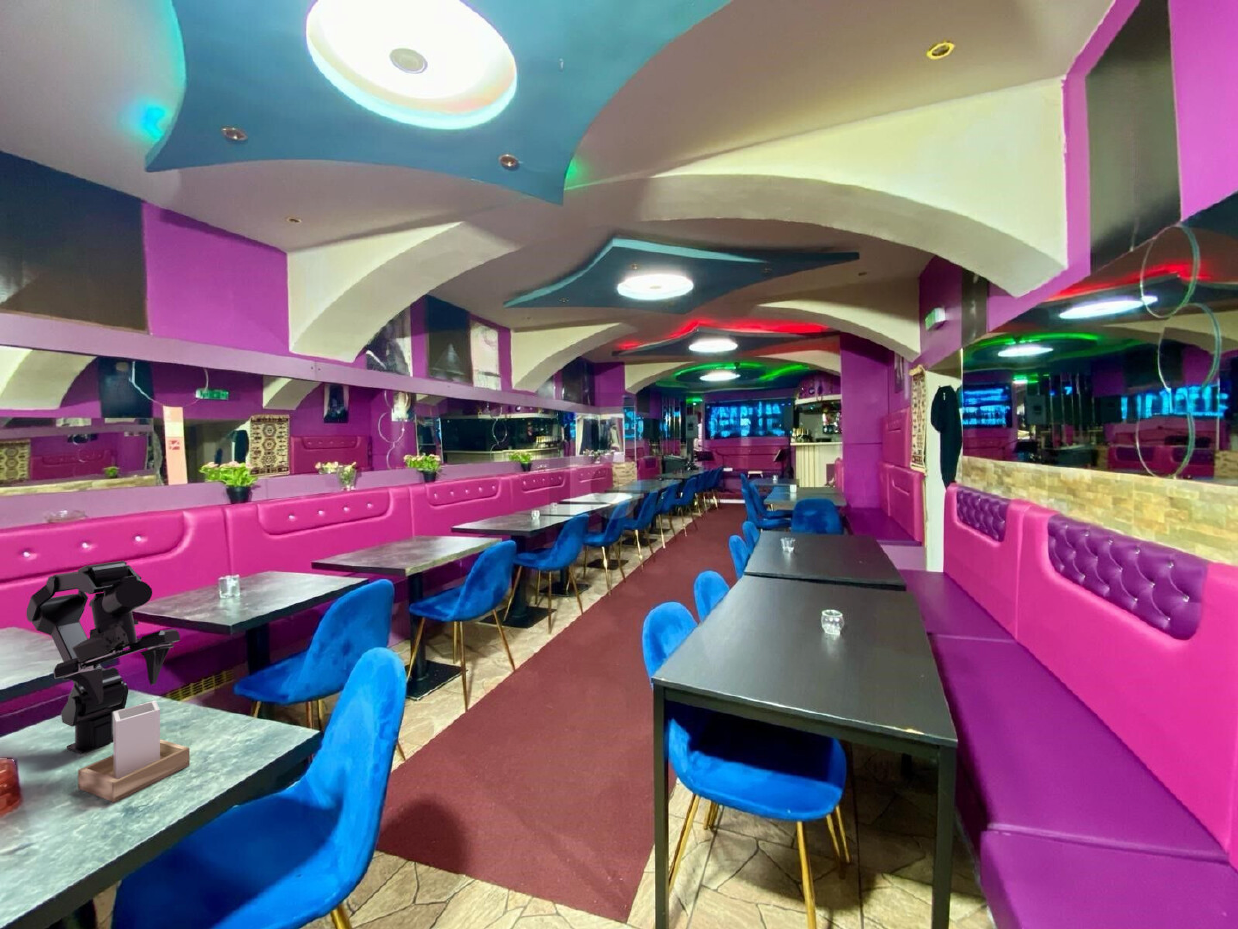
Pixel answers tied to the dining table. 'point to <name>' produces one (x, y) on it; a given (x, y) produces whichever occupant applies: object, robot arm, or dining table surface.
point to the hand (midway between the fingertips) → (126, 693)
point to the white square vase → (135, 738)
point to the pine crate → (106, 786)
